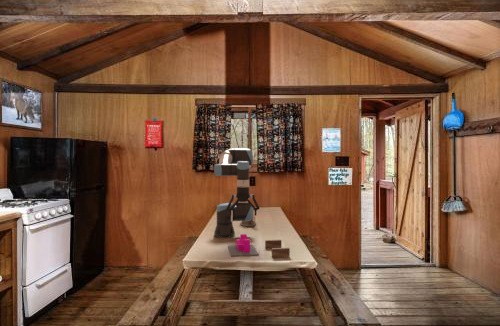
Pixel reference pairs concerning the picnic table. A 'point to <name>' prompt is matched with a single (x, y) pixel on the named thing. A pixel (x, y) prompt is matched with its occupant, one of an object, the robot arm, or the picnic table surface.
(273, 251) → the block
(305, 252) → the picnic table surface
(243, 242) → the toy block
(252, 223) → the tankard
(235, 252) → the slate mat
